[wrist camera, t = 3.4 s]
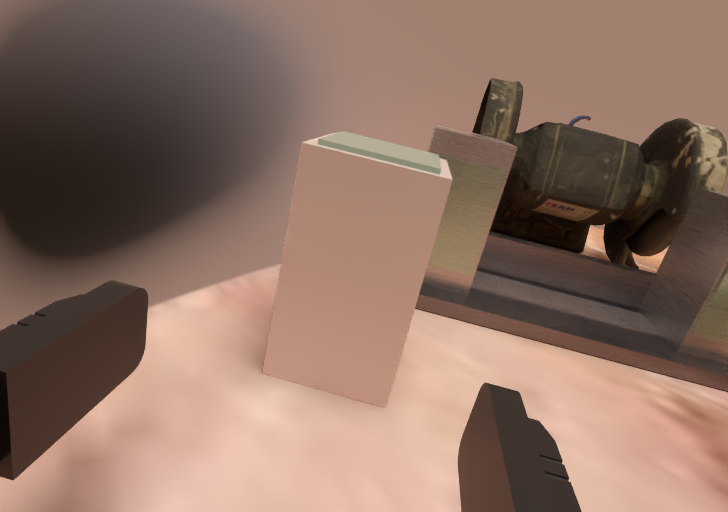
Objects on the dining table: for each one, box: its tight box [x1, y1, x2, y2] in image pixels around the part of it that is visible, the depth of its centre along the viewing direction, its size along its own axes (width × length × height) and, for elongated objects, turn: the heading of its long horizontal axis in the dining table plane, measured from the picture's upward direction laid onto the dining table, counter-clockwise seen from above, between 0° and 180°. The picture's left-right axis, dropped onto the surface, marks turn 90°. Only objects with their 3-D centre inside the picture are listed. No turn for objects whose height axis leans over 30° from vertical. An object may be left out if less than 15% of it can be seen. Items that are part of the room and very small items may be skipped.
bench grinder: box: [472, 78, 728, 269], centre depth 48 cm, size 20×22×20 cm
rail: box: [415, 124, 728, 391], centre depth 31 cm, size 26×9×11 cm, turn 82°
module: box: [262, 131, 453, 408], centre depth 20 cm, size 6×6×10 cm
